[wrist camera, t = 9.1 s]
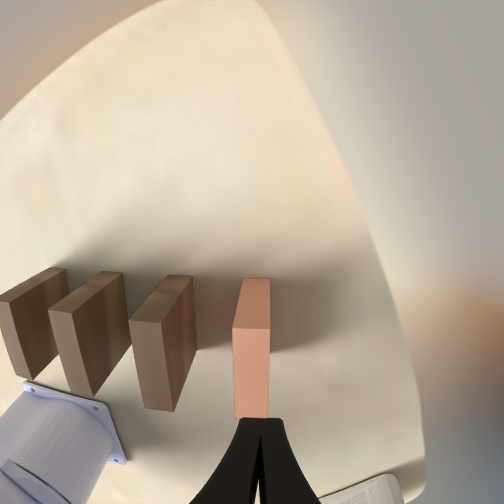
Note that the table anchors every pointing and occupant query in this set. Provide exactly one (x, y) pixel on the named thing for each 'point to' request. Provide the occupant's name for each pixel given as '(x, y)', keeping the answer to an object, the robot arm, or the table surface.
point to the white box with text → (369, 492)
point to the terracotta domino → (252, 348)
